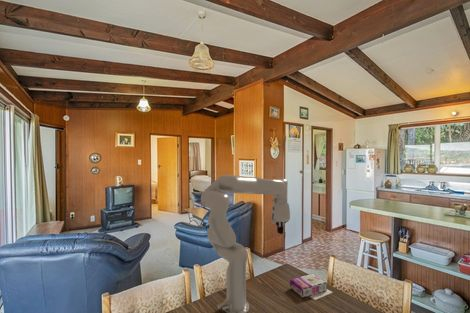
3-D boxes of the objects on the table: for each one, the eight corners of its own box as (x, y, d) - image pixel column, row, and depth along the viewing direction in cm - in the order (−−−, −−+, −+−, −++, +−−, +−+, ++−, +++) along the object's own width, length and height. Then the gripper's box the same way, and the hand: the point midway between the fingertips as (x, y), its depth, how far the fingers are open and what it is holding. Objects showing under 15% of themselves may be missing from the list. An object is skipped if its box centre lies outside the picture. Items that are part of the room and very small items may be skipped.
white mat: (315, 300, 127) (315, 299, 127) (289, 283, 144) (289, 282, 144) (332, 292, 134) (332, 292, 134) (306, 277, 150) (306, 276, 150)
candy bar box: (302, 298, 129) (327, 291, 135) (302, 289, 128) (327, 282, 135) (289, 287, 139) (313, 281, 145) (289, 278, 139) (313, 272, 145)
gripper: (273, 203, 134) (273, 237, 134) (295, 200, 141) (294, 233, 141) (265, 200, 141) (265, 233, 141) (286, 198, 148) (286, 229, 148)
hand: (280, 233), depth 141 cm, fingers closed
